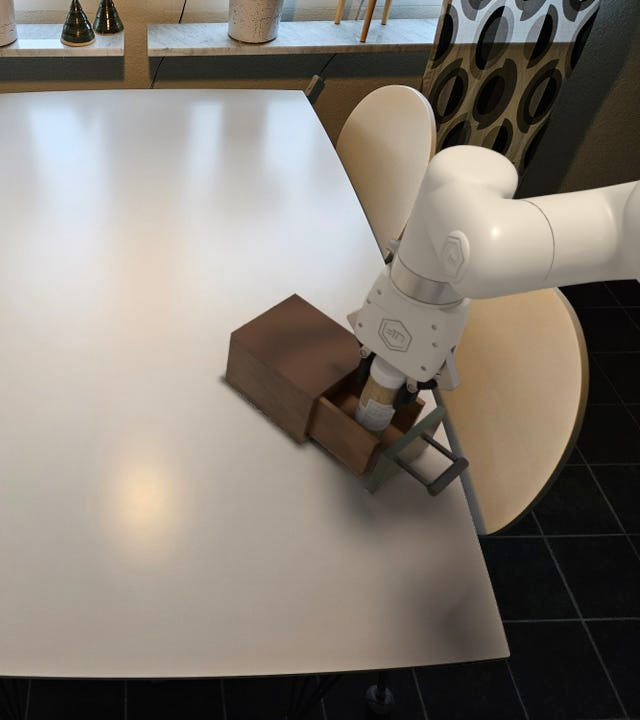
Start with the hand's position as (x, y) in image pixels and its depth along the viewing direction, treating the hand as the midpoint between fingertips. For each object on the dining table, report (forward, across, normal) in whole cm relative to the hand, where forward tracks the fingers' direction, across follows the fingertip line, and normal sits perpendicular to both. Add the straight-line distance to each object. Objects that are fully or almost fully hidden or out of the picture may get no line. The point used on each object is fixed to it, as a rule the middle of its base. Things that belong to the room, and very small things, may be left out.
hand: (383, 389), depth 77 cm
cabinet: (+11, -12, 0) cm, 17 cm away
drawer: (+11, +2, 0) cm, 11 cm away
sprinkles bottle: (+9, 0, 0) cm, 9 cm away
